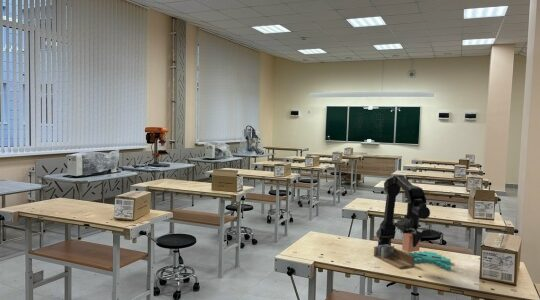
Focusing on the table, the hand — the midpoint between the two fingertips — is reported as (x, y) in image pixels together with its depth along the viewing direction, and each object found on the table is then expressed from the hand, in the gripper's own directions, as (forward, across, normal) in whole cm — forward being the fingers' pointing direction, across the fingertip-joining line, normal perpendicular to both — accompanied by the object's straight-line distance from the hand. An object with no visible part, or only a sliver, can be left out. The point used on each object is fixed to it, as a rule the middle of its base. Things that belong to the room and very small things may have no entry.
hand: (410, 245), depth 187 cm
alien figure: (+12, -6, +19) cm, 23 cm away
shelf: (+12, -11, 0) cm, 16 cm away
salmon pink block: (+2, 0, 0) cm, 2 cm away
